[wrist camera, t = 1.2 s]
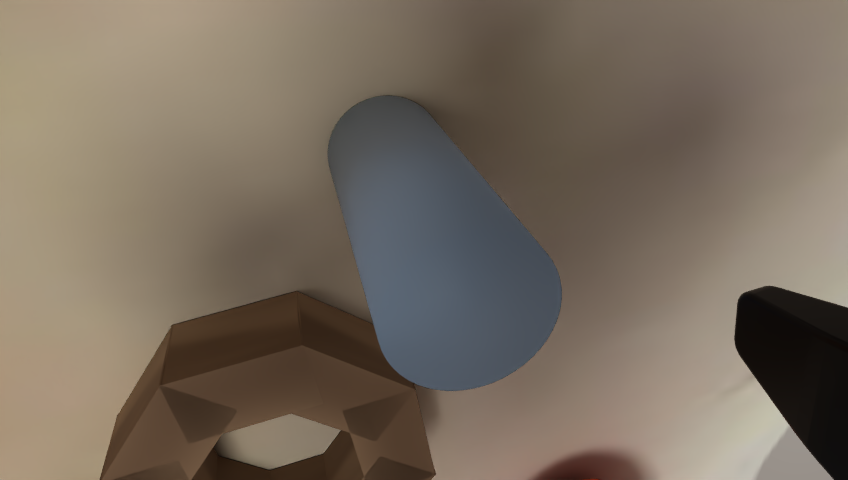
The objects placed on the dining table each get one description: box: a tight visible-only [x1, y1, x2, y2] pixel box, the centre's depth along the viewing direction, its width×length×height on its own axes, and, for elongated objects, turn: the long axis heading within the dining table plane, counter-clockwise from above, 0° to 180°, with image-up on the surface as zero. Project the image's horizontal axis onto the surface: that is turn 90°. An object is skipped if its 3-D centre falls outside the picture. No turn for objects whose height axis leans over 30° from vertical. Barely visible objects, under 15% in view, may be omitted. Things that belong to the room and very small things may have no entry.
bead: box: [100, 291, 436, 480], centre depth 22 cm, size 10×10×3 cm
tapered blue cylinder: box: [328, 96, 562, 391], centre depth 15 cm, size 4×4×9 cm
